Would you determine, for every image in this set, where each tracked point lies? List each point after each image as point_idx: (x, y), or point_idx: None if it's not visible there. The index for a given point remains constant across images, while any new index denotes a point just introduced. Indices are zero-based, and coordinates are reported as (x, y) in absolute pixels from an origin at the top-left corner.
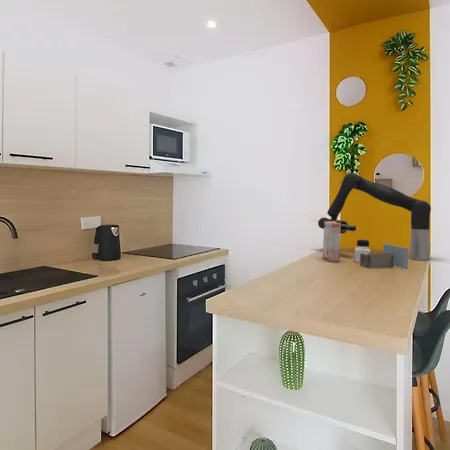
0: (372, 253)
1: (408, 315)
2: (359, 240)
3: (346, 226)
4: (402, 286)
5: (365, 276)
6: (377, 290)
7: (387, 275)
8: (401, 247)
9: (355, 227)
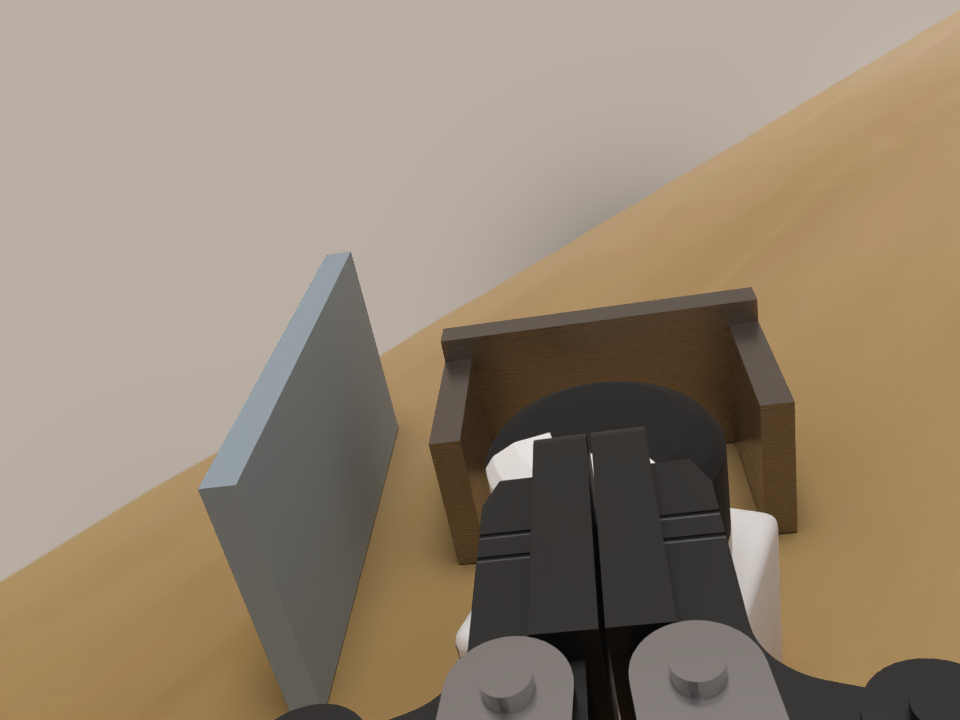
0: (693, 307)
1: (919, 36)
2: (695, 411)
3: (883, 679)
4: (773, 159)
5: (908, 240)
6: (932, 116)
7: (723, 271)
8: (336, 281)
9: (537, 441)
